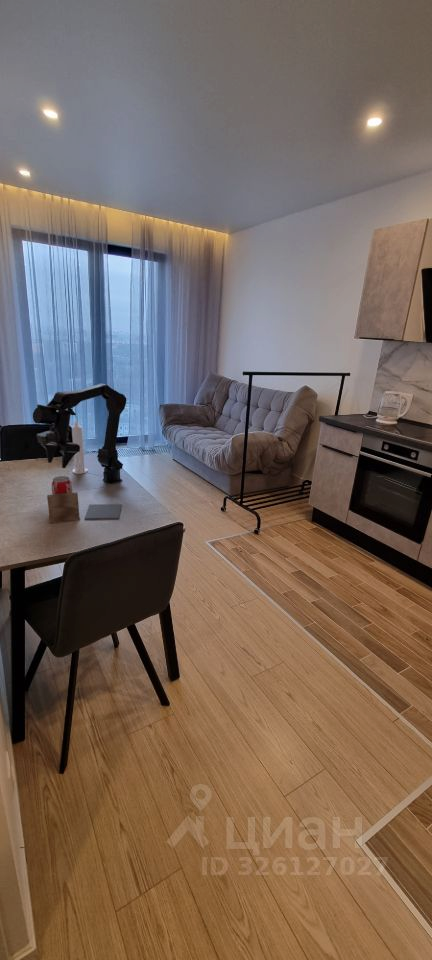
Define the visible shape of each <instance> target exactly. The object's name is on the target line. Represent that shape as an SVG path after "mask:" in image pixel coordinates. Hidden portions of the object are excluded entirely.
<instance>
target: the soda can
mask: <svg viewBox="0 0 432 960" xmlns="http://www.w3.org/2000/svg"><path fill="white" fill-rule="evenodd" d="M64 493H73V485H72V481H71V479H70V477H69V476H65V475H61V476H60V475H58V476H55V477H53V479H52V482H51V495H53V494H64Z"/></svg>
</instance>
